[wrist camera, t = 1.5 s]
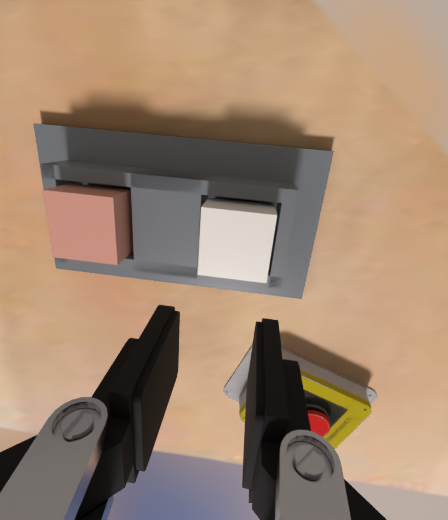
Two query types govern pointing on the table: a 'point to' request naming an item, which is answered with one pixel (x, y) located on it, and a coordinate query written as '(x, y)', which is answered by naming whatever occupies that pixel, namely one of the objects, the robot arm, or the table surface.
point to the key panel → (191, 198)
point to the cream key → (236, 239)
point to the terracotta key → (89, 222)
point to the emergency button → (316, 397)
